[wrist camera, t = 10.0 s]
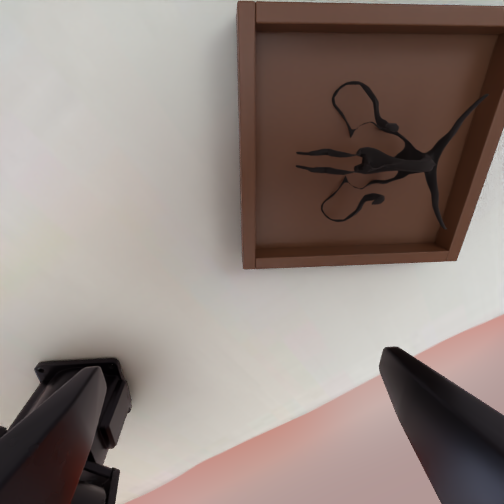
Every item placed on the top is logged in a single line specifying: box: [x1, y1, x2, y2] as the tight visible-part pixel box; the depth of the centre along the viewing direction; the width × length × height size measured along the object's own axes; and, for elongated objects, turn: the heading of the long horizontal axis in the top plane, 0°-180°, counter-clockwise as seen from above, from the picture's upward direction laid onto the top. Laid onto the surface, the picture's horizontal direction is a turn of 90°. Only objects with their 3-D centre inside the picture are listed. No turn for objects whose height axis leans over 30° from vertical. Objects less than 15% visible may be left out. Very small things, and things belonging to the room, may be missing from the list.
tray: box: [236, 1, 504, 269], centre depth 17 cm, size 15×14×2 cm
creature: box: [296, 81, 489, 229], centre depth 15 cm, size 8×5×8 cm
